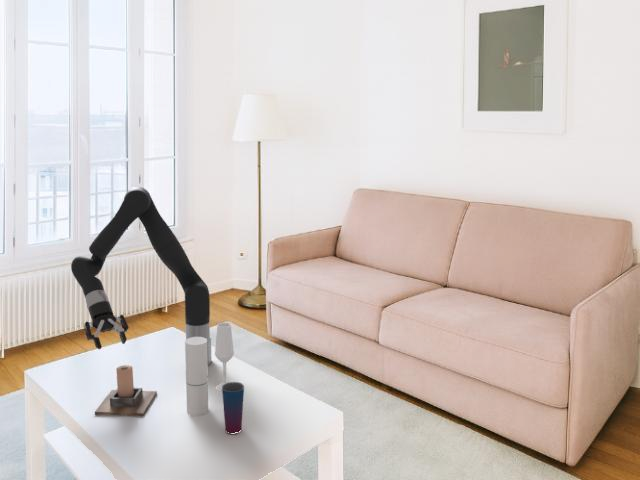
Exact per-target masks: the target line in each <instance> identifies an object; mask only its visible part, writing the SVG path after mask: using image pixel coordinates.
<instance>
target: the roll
mask: <svg viewBox="0 0 640 480" xmlns="http://www.w3.org/2000/svg"><path fill="white" fill-rule="evenodd" d="M133 371H134V370H133V366H132V365H129V364H125V365H120V366H118V367H117V368H116V383H117V384H116V385H117V388H118V398H134V388H135V387H134V386H135V385H134V372H133Z"/></svg>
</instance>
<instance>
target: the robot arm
mask: <svg viewBox="0 0 640 480" xmlns="http://www.w3.org/2000/svg"><path fill="white" fill-rule="evenodd" d="M123 197H124V198H123V201H122V202H121V205H120V206H119V208H118V210H117V212H116V213H115V214H114V216H113V217H112V219H111V220H110V221H109V222H108V223H107V224H106V225H105V226H104V227H103V229H102V230H101V231H100V232H99V234H98V235H97V236H96V237H95V238H94V240H93V241H92V242H91V244H90V245H89V246H88V250H89V252H90V253H91V254H92V255H91V257H90V258H89V257H86V256H81V255H79V256H75V258H74V259H73V260H72V261H71V264H70V265H71V266H70V268H71V269H70V270H71V273H72V275H73V276H74V278H75V280H76V281H77V283H78V284H79V286H80V288H81V289H82V292H83V293H82V294H83V295H84V298H85V303H86V308H87V309H88V313H89V315H90V318H91V322H89V321H85V323H84V325H83V327H84V332H85V336H86V339H87V341H90V340H92V341H93V343H94V346H95V348H96V349H98V350H101V349H102V347H103V346H102V344H101V340H100V337H99V334H100V332H101V333H105V332H111V331H113V332H116V333H118V334H119V335H118V336H119V339H120V342H121V343H122V345H125V344H126V342H127V336H126V333H127V332H128V330H129V325H128V323H127V320H126V318H125V316H124V315H123V314H120V315H119V316H115V315H114V312H113V308H112V305H111V302H110V300H109V298H108V295H107V293H106V291H105V289H104V285H103V283H102V281H101V279H99V278H98V277H97V276H98V275H99V274H100V272H101V270H102V269H103V267H104V263H105V262H106V259H107V257H108V255H109V254H110V252H112V250H113V249H114V248H115V247H116V245H117V244H118V242H119V240H121V238H122V237H123V236H124V233H125V232H126V230H128V228H129V227H130V226H131V225H132V224H133V223H134V221H135V220H136V219H138V220H139V221H140V222H141V224H142V225H143V227H144V229H145V231H146V235H147V237H148V239H149V242H150V244H151V246H152V248H153V250H154V252H155V253H156V255H157V257H158V258H159V259H160V261H161V262H162V263H163V265H165V267H166V268H167V269H169V270H170V271H171V272H172V274H173V275H174V276H175V277H176V279H177V281H178V282H179V284H180V286H181V288H182V290H183V293H184V312H185V313H184V315H185V317H184V318H185V340H186V339H188V338H191V337H204V338H206V339H207V356H208V367H210V365H211V362H212V338H211V333H210V331H211V329H210V324H211V323H210V317H211V316H210V315H211V312H210V311H211V307H210V305H211V304H210V300H211V299H210V290H209V286H208V284H206V282H205V281H204V280H203V278H202V277H201V276H200V275H199V274H198V273H197V271H196V270H195V268H194V267H193V265H192V264H191V261H190V259H189V258H188V255H187V253H186V251H185V250H184V248H183V245H181V243H180V242H179V240H178V238H177V236H176V235H175V233H174V232H173V231H172V230H171V228H170V226H169V225H168V223H166V221H165V219H164V218H163V217H162V216H161V214H160V212H159V210H158V209H157V206H156V205H155V202H154V201H153V198H152V195H151V194H150V192H149V191H148V189H146V188H144V187H142V186H133V187H131V188H129V189H128V190H127V192H126V193H125V195H124V196H123ZM119 323H120V324H119ZM92 327H93V328H94V329H96V331H95V333H94V334H93V333H92V330H91V329H92Z"/></svg>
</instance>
